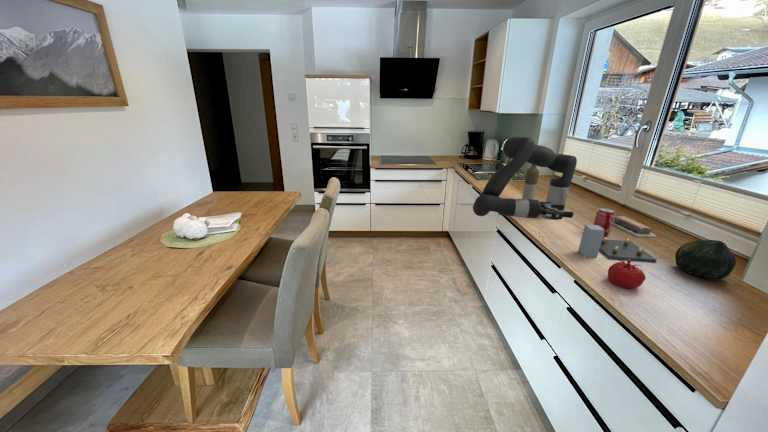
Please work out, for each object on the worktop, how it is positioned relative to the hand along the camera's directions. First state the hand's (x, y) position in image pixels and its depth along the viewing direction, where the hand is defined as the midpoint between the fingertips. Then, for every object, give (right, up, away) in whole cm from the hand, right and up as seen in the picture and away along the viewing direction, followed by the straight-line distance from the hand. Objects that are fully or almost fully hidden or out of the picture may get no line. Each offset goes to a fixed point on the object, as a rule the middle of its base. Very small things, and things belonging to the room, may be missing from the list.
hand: (568, 211), depth 121 cm
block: (+11, -18, +5) cm, 21 cm away
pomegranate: (+10, -25, -15) cm, 31 cm away
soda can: (+30, -11, +25) cm, 41 cm away
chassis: (+27, -17, +8) cm, 33 cm away
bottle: (+15, +6, +68) cm, 70 cm away
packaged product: (+49, -9, +30) cm, 58 cm away
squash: (+43, -23, -8) cm, 50 cm away
